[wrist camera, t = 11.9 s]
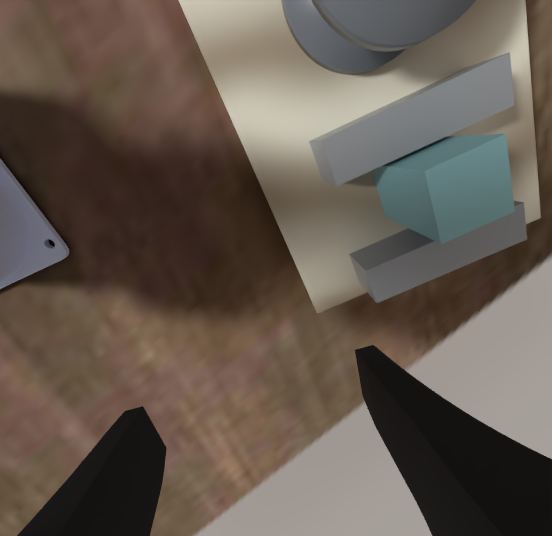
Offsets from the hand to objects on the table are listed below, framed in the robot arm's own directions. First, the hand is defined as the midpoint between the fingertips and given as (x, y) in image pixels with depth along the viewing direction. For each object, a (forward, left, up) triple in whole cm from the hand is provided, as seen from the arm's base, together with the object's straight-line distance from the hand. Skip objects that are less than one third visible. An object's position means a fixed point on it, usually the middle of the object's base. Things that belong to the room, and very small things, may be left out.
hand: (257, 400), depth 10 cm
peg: (-2, +10, -8) cm, 13 cm away
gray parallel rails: (-2, +10, -8) cm, 13 cm away
